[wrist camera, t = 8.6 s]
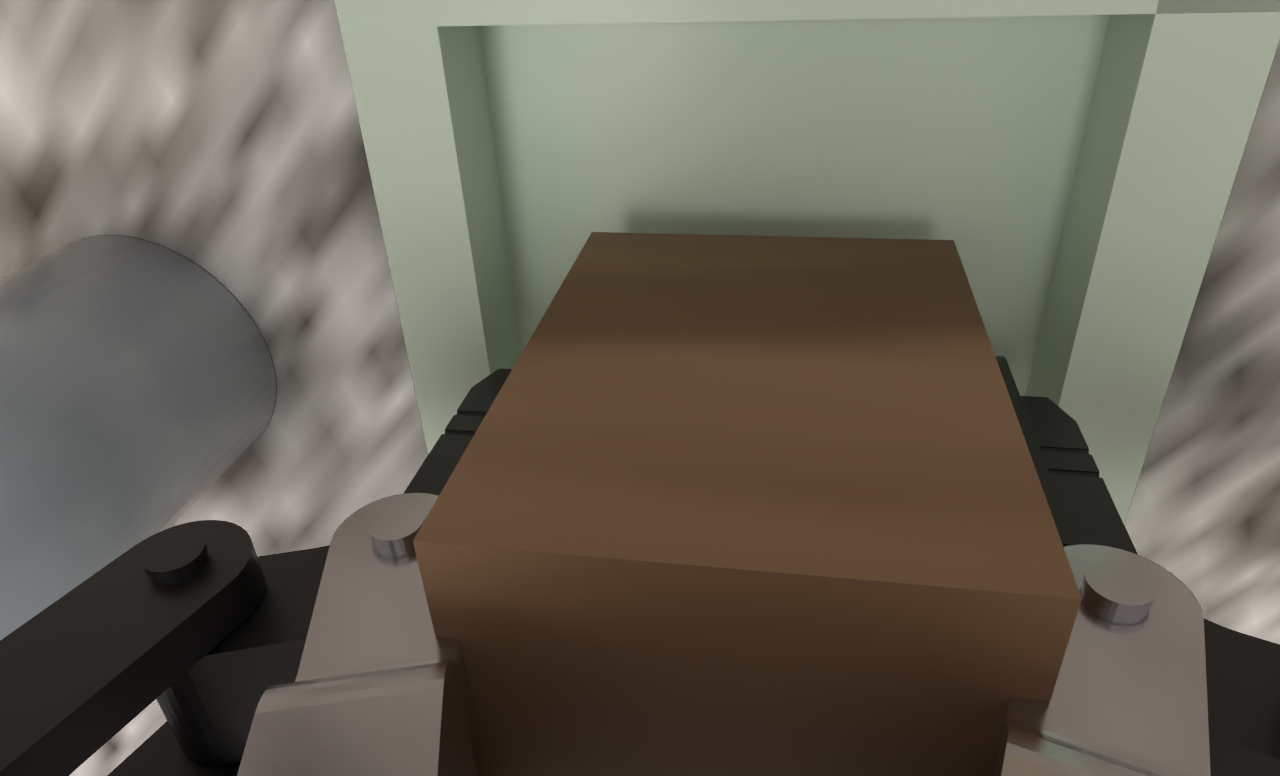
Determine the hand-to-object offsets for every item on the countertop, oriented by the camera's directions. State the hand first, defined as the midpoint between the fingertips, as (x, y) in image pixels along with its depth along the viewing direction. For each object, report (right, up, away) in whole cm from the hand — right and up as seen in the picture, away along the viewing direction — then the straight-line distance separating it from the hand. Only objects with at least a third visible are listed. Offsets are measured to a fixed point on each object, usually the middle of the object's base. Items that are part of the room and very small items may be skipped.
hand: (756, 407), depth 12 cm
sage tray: (0, +1, +2) cm, 2 cm away
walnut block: (0, 0, +1) cm, 1 cm away
